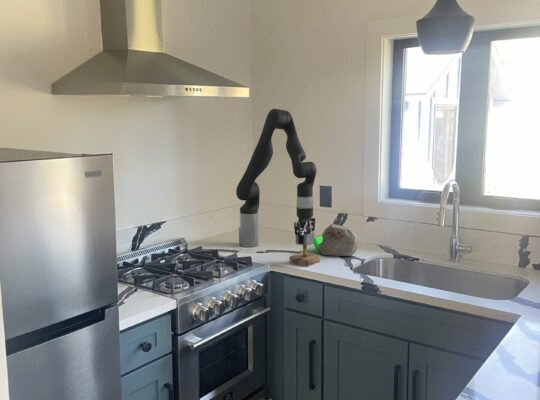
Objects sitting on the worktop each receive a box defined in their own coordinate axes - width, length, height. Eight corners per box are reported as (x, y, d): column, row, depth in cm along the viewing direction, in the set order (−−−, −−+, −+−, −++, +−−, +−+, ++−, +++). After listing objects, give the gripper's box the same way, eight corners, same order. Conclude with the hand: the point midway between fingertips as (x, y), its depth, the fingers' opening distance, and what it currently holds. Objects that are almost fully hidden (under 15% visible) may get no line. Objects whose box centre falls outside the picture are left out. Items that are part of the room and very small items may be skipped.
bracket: (342, 252, 283) (338, 239, 285) (352, 246, 275) (347, 233, 277) (309, 257, 274) (305, 243, 276) (318, 251, 266) (314, 237, 268)
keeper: (289, 263, 249) (289, 245, 248) (302, 258, 257) (302, 241, 256) (307, 266, 243) (307, 249, 242) (320, 261, 251) (320, 244, 250)
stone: (359, 254, 263) (359, 224, 260) (356, 258, 256) (357, 227, 254) (320, 252, 268) (320, 222, 266) (317, 255, 262) (317, 225, 259)
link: (295, 244, 248) (295, 233, 248) (303, 241, 253) (303, 231, 252) (306, 245, 245) (306, 235, 244) (314, 243, 249) (314, 232, 249)
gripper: (307, 203, 254) (307, 238, 257) (288, 207, 243) (288, 244, 246) (320, 204, 249) (320, 240, 252) (302, 209, 238) (302, 246, 241)
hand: (304, 242), depth 249 cm, fingers closed on link, 6 cm apart
